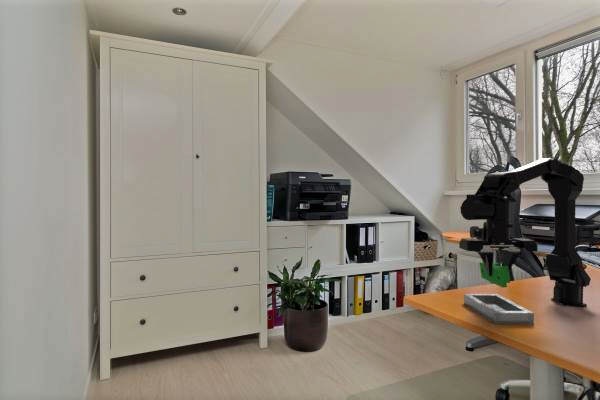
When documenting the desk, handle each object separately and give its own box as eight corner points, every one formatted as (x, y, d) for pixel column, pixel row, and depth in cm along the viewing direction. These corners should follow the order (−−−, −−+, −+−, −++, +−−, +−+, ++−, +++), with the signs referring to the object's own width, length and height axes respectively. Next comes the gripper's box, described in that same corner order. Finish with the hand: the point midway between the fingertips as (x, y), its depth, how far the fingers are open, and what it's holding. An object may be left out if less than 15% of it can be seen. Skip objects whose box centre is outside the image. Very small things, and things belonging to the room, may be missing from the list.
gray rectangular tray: (497, 303, 110) (497, 293, 109) (533, 324, 93) (534, 313, 92) (463, 303, 110) (464, 293, 109) (493, 323, 93) (494, 312, 92)
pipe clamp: (517, 285, 96) (514, 268, 95) (502, 288, 96) (500, 270, 95) (494, 275, 107) (492, 259, 107) (481, 277, 107) (479, 262, 107)
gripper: (514, 217, 108) (513, 269, 109) (451, 217, 108) (450, 269, 109) (539, 220, 97) (538, 278, 98) (468, 220, 97) (468, 278, 98)
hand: (496, 276), depth 101 cm, fingers closed on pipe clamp, 4 cm apart
